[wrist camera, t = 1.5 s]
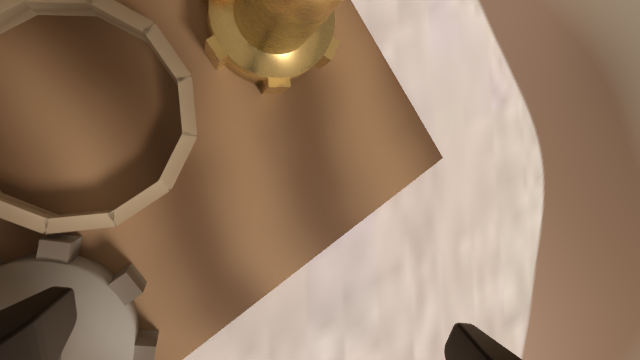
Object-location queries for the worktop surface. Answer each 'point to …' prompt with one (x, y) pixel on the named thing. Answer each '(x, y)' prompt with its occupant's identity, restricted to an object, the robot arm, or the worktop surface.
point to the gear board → (231, 175)
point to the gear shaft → (271, 39)
